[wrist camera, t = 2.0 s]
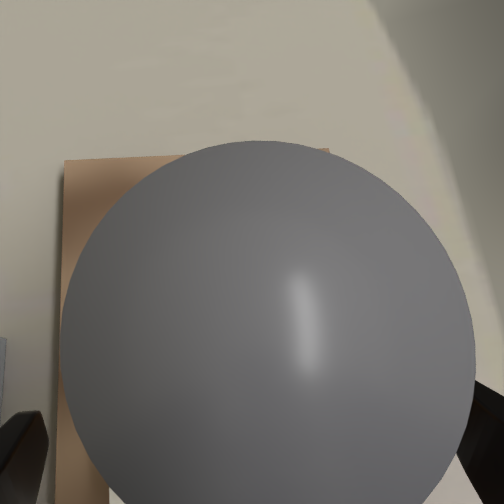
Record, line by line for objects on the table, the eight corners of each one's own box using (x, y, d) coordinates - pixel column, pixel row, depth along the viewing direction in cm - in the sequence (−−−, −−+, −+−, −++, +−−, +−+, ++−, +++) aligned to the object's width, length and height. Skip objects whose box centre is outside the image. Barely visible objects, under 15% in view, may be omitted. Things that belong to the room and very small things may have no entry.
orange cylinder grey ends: (321, 368, 17) (544, 320, 6) (225, 477, 15) (289, 711, 4) (230, 274, 18) (274, 84, 7) (128, 366, 16) (-37, 305, 5)
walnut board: (433, 630, 15) (448, 646, 14) (58, 733, 13) (47, 759, 12) (323, 158, 22) (328, 148, 21) (70, 171, 20) (64, 160, 19)
